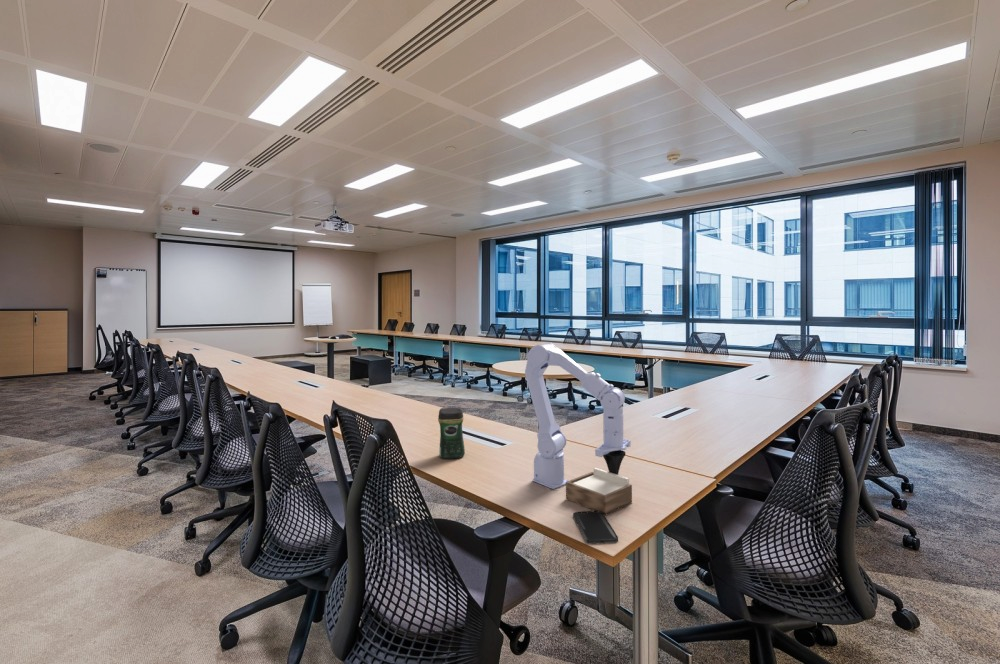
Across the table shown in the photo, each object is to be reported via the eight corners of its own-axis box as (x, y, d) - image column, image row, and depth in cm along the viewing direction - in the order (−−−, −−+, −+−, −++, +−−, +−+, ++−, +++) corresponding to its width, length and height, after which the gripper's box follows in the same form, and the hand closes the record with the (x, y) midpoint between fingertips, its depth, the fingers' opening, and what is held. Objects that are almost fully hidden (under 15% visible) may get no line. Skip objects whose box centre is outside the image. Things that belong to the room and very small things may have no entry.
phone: (601, 510, 119) (619, 539, 104) (601, 514, 119) (619, 543, 104) (572, 512, 119) (586, 540, 104) (572, 516, 119) (586, 545, 104)
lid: (571, 486, 128) (571, 476, 128) (595, 476, 135) (595, 467, 135) (605, 499, 119) (605, 488, 119) (629, 487, 126) (628, 478, 126)
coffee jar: (464, 452, 173) (463, 405, 172) (464, 459, 165) (463, 409, 165) (439, 453, 173) (438, 406, 172) (438, 460, 165) (437, 410, 164)
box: (566, 498, 129) (565, 481, 128) (592, 487, 136) (592, 471, 136) (605, 515, 118) (605, 496, 118) (631, 502, 125) (631, 484, 125)
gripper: (609, 437, 123) (609, 485, 124) (639, 427, 132) (639, 472, 133) (589, 432, 128) (589, 478, 129) (619, 423, 138) (619, 466, 138)
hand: (613, 475), depth 131 cm, fingers closed
